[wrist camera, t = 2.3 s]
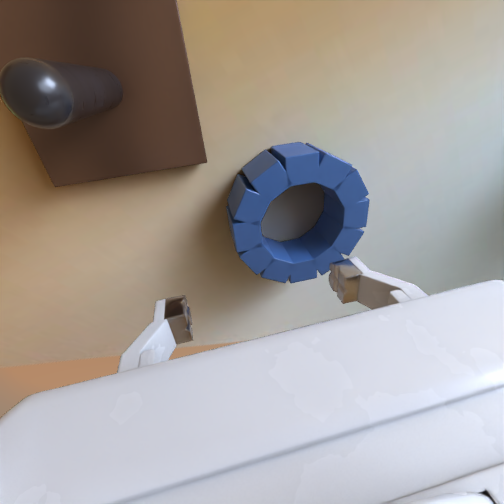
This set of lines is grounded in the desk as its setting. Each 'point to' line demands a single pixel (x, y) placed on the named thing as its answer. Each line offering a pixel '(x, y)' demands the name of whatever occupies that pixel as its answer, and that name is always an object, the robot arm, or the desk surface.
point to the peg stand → (100, 86)
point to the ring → (327, 227)
